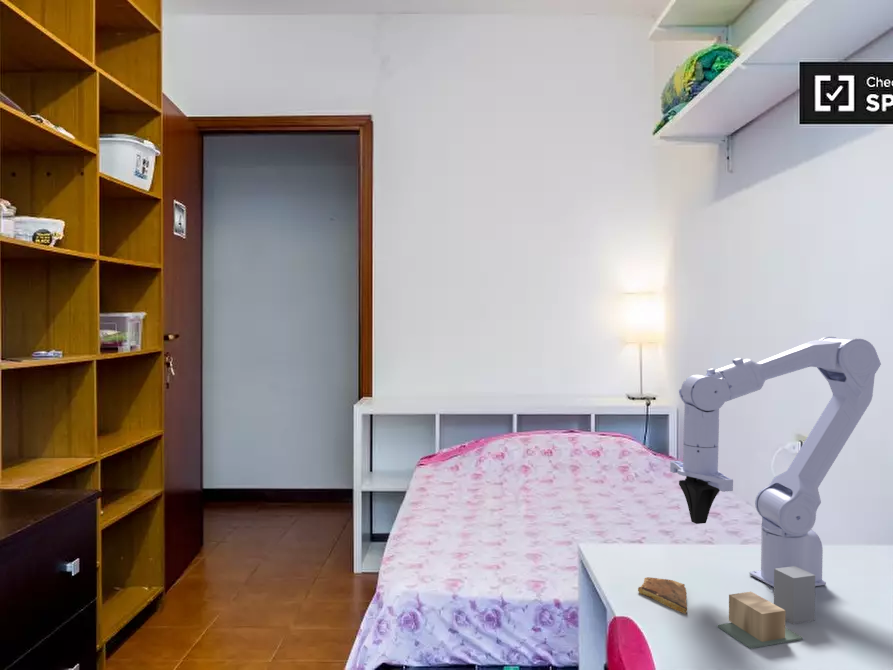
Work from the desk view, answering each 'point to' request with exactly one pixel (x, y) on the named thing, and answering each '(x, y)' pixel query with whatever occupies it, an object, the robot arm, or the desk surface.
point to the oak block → (757, 616)
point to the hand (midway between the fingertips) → (698, 522)
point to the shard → (665, 592)
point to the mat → (754, 642)
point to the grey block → (795, 593)
